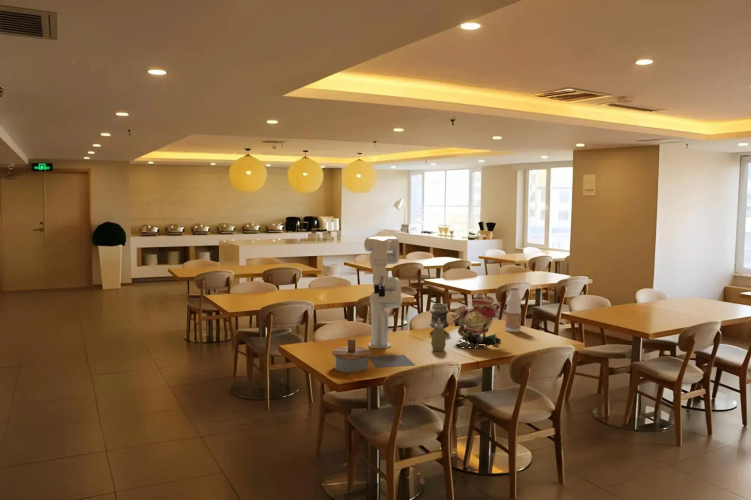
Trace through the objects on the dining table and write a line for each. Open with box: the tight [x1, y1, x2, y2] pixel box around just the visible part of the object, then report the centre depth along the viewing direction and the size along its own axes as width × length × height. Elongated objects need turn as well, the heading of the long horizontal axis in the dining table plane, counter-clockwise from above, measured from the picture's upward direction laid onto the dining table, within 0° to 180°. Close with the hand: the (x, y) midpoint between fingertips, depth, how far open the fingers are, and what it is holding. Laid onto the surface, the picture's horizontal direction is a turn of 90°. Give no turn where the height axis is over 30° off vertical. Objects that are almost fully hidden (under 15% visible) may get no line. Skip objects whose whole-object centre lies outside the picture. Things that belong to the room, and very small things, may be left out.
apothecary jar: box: [429, 303, 450, 335], centre depth 359 cm, size 12×12×18 cm
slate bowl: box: [334, 357, 369, 374], centre depth 282 cm, size 16×16×7 cm
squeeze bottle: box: [431, 318, 447, 352], centre depth 317 cm, size 8×8×18 cm
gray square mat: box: [368, 354, 416, 369], centre depth 293 cm, size 20×20×1 cm
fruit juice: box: [505, 286, 522, 333], centre depth 366 cm, size 9×9×28 cm
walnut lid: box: [332, 338, 372, 359], centre depth 281 cm, size 19×19×7 cm
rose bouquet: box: [451, 292, 502, 350], centre depth 330 cm, size 26×29×30 cm
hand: (379, 295), depth 299 cm, fingers open, 9 cm apart
